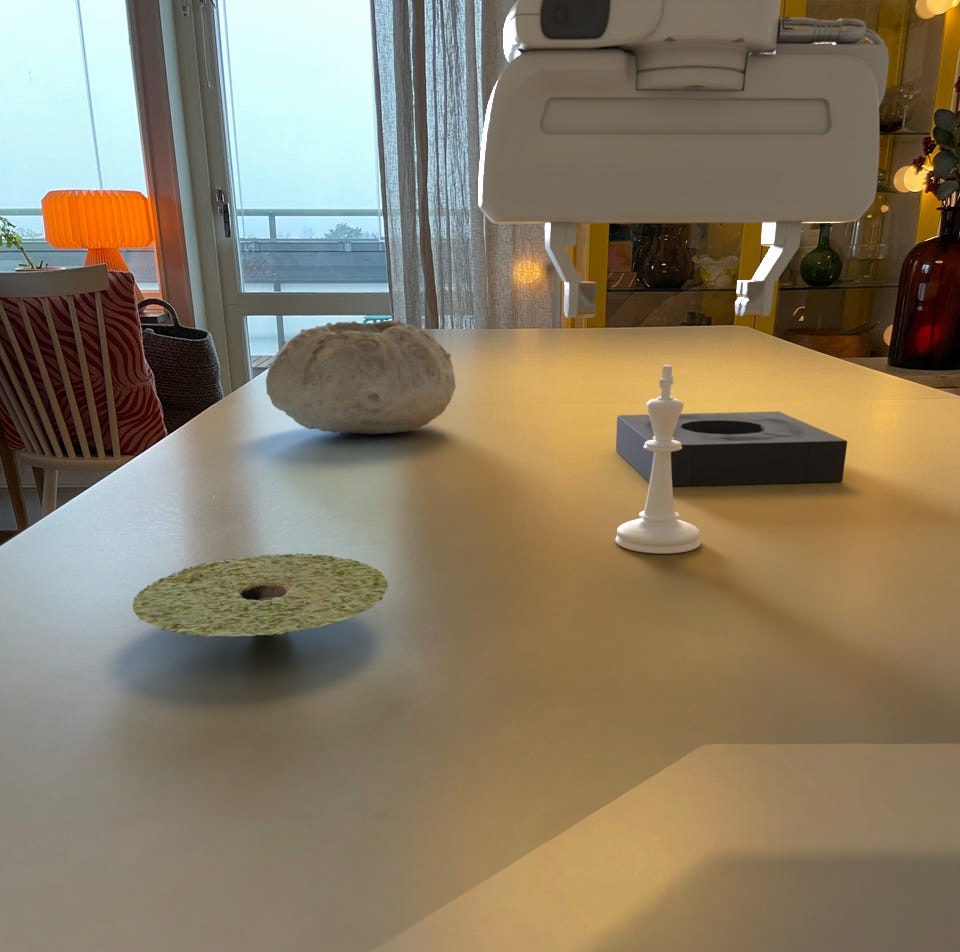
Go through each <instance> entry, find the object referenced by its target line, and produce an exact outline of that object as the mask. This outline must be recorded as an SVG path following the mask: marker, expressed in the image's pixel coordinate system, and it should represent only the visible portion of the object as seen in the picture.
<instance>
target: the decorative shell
mask: <svg viewBox="0 0 960 952" xmlns="http://www.w3.org/2000/svg"><path fill="white" fill-rule="evenodd" d="M451 357H452V356H451V353H450V352H447V350H446V349H445V348H444V346H442V345H441V343H439V342H438V340H436V339H435V338H434V337H433V336H432V335H430V334H429V333H428V332H426V331H424V330H421V329H419V328H418V327H415V325H414V324H413V323H411V324H408V323H407V324H406V323H403V322H402V321H401V320H396V321H395V320H380V321H378V322H373V323H372V322H366V323H361V322H360V323H359V322H357V321H355V320H353V321H350V322H349V321H337V322H335V323H334V324H333V323H331V322H327V323H326V324H325V325H320V326H319V325H316V326H315V327H310V328H307V329H305V328H302V329H301V330H300V332H299V333H297V334H295V335H294V336H292V337H291V338H290V339H289V340H287V341H286V340H284V341H282V343H281V347H280V348H279V349H278V351H277V352H276V354H275V356H274V358H273V360H272V361H271V362H270V363H269V367H268V371H267V375H266V378H265V385H266V386H265V387H266V395H267V396H268V397H269V399H270V401H271V402H270V403H271V404H272V405H273V406H274V408H275V409H278V410H279V411H282V412H284V413H285V415H287V416H288V417H289V418H291V419H292V420H293V421H294V422H295V423H296V424H298V425H299V426H301V427H303V428H305V429H307V430H308V429H309V430H319V431H321V432H328V433H333V434H334V433H346V434H363V435H380V434H381V435H383V434H396V433H408V432H411V431H412V430H414V429H415V430H416V429H420V428H421V427H424V426H427V425H428V424H429V423H431V422H432V421H433V420H434V419H437V418H438V417H439V416H440V415H442V414H443V413H444V412H445V410H446V409H447V407H448V405H449V404H450V402H451V401H452V399H453V395H454V393H455V390H456V375H455V371H454V367H453V363H452V360H451Z"/></svg>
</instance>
